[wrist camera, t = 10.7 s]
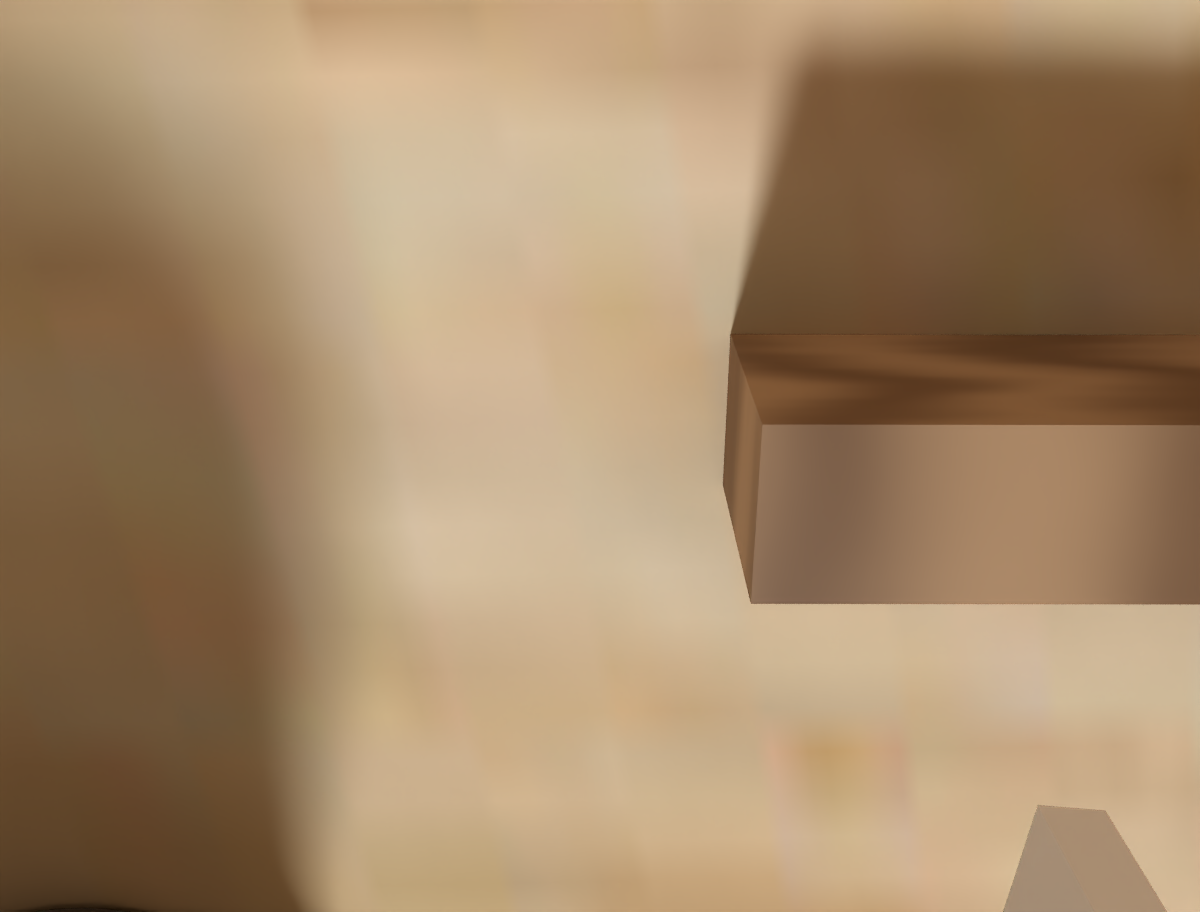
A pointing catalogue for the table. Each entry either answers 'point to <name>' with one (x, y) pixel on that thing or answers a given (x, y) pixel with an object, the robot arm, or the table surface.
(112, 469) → the table surface
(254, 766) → the table surface
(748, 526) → the slat
